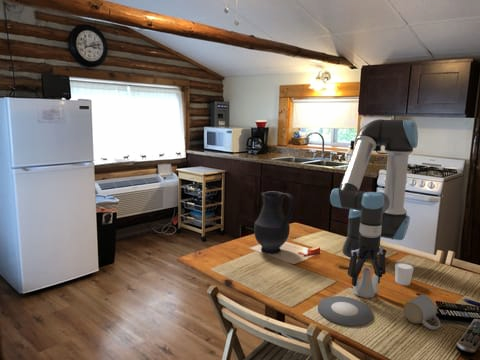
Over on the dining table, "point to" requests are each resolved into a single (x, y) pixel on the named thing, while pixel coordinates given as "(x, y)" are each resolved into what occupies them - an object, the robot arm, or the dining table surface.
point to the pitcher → (273, 222)
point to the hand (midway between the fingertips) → (364, 292)
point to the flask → (366, 285)
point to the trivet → (345, 311)
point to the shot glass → (403, 273)
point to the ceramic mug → (421, 311)
